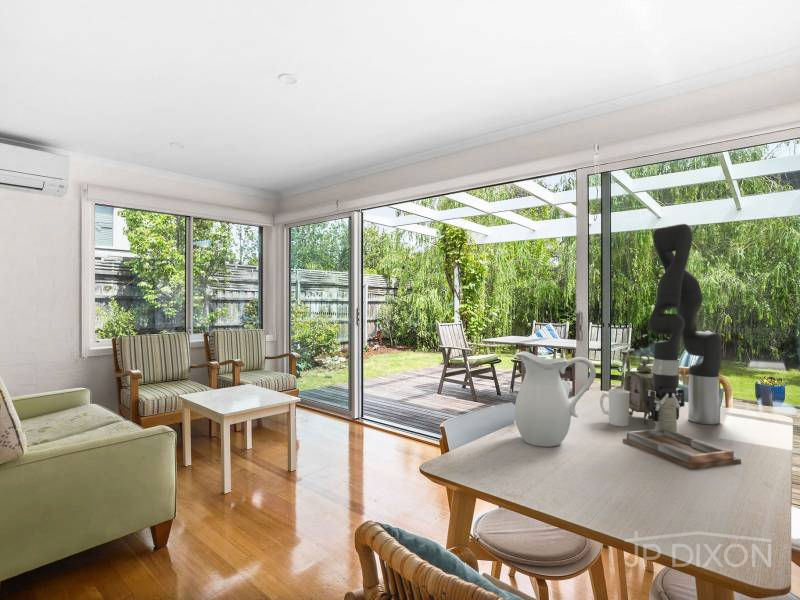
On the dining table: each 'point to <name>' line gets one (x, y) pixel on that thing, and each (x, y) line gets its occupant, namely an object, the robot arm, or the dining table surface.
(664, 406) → the skincare box
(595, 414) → the dining table surface
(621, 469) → the dining table surface
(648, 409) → the tabletop clock
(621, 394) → the mug
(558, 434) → the pitcher
